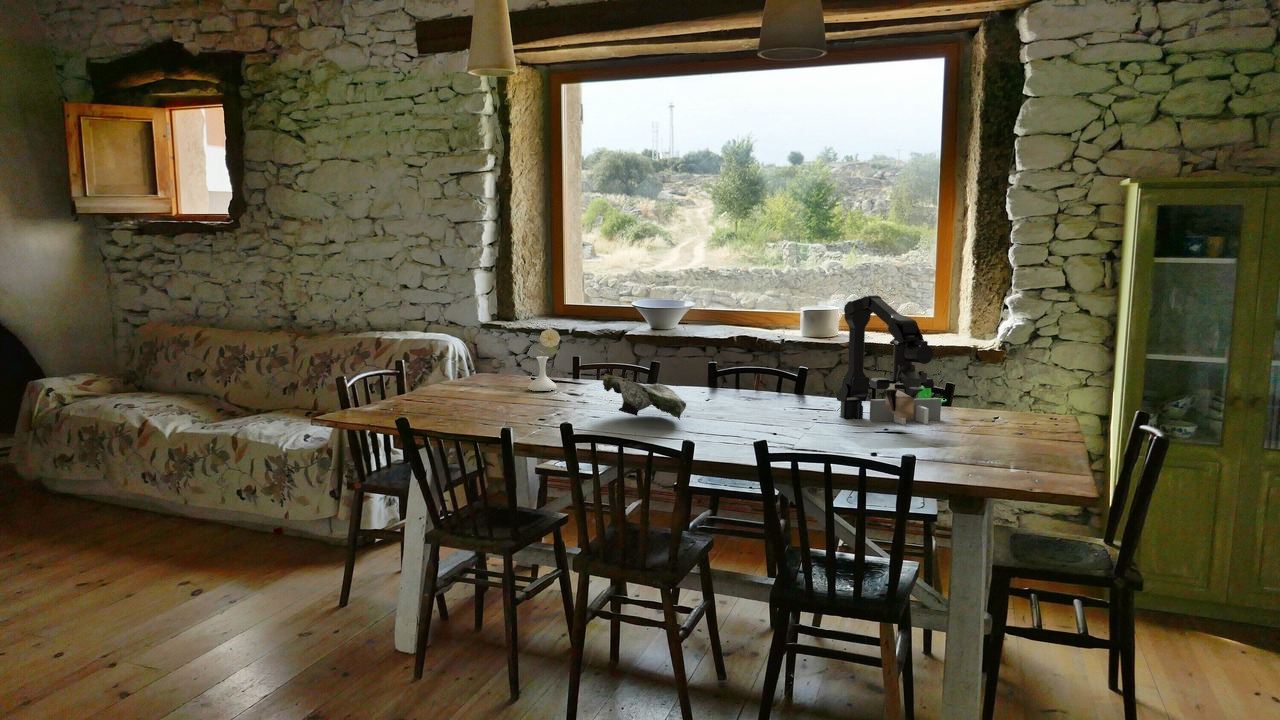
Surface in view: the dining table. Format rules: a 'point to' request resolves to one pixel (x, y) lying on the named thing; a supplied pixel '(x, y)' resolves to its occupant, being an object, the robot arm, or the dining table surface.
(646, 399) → the rock
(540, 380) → the flower in vase
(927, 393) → the mechanical part
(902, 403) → the rail
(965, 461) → the dining table surface
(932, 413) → the slab with two fins
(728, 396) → the dining table surface
